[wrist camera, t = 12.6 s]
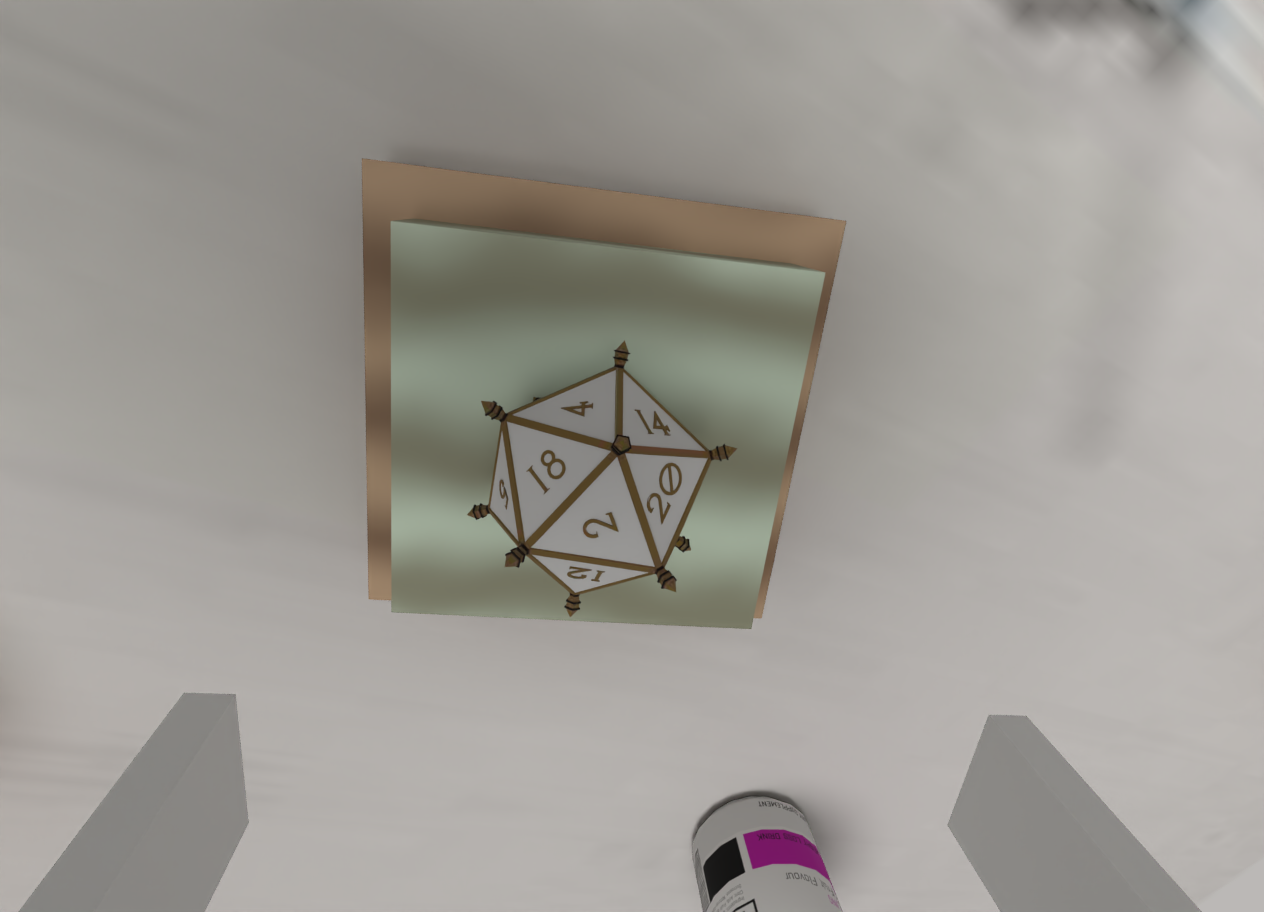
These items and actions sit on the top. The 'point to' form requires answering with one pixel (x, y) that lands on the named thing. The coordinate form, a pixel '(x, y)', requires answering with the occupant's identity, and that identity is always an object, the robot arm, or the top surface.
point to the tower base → (578, 375)
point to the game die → (595, 482)
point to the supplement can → (760, 860)
